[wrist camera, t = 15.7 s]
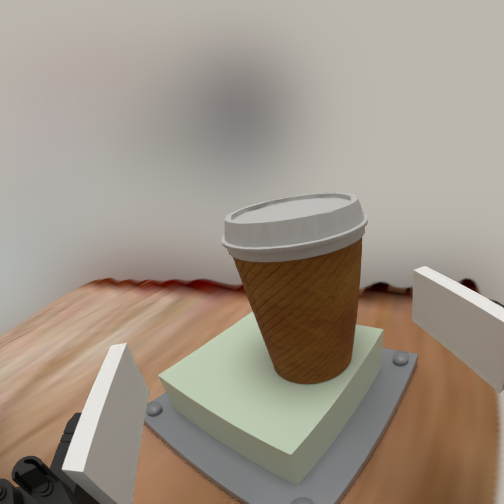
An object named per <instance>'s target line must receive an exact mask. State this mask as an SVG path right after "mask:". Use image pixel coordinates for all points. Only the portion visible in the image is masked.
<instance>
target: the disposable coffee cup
mask: <svg viewBox="0 0 504 504" xmlns="http://www.w3.org/2000/svg"><path fill="white" fill-rule="evenodd" d="M367 222H368V216H367V215H366V214H365V213H364V212H363V211H362V209H361V205H360V203H359V200H358V197H357V196H355V195H353V194H348V193H317V194H306V195H298V196H291V197H286V198H280V199H275V200H271V201H266V202H262V203H258V204H254V205H251V206H248V207H244V208H242V209H239V210H237V211H234V212H232V213H230V214H228V215H227V216H226V217H225V234H224V235H223V236H222V238H221V241H222V244H223V246H224V247H226V248H227V250H228V252H229V254H230V255H231V256H232V257H233V259H234V261H235V264H236V267H237V269H238V272H239V275H240V278H241V280H242V283H243V286H244V289H245V291H246V294H247V297H248V300H249V302H250V305H251V308H252V310H253V313H254V316H255V318H256V321H257V323H258V327H259V329H260V332H261V334H262V337H263V340H264V342H265V345H266V348H267V350H268V353H269V355H270V358H271V361H272V363H273V366H274V369H275V371H276V372H277V374H278V375H280V376H281V377H282V378H284V379H285V380H288V381H290V382H294V383H299V384H315V383H320V382H324V381H327V380H330V379H332V378H334V377H336V376H338V375H339V374H341V373H342V372H343V371H344V370H345V369H346V368H347V367H348V366H349V364H350V362H351V359H352V352H353V344H354V337H355V328H356V319H357V309H358V299H359V285H360V273H361V272H360V271H361V255H362V236H363V235H364V233H365V226H366V225H367Z"/></svg>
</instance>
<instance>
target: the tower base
mask: <svg viewBox="0 0 504 504" xmlns="http://www.w3.org/2000/svg"><path fill="white" fill-rule="evenodd" d="M417 361H418V354H414V353H408V352H404V351H397V350H392V349H386V348H383V329H378V328H373V327H367V326H361V325H356V328H355V337H354V344H353V352H352V359H351V362H350V364H349V366H348V367H347V368H346V369H345V370H344V371H343V372H342V373H341V374H339V375H338V376H336V377H334V378H332V379H330V380H327V381H324V382H320V383H315V384H299V383H294V382H290V381H288V380H285V379H284V378H282V377H281V376H280V375H278V374H277V372H276V371H275V369H274V366H273V363H272V361H271V358H270V355H269V353H268V350H267V348H266V345H265V342H264V340H263V337H262V334H261V332H260V329H259V327H258V323H257V321H256V318H255V316H254V313H253V311H252V312H251V313H250V314H248V315H247V316H245V317H244V318H242V319H241V320H240V321H238V322H237V323H235V324H234V325H232V326H231V327H230V328H228V329H227V330H225V331H224V332H222V333H221V334H219V335H218V336H217V337H215V338H214V339H212V340H211V341H209V342H208V343H206V344H205V345H203V346H202V347H200V348H199V349H197V350H196V351H194V352H193V353H191V354H190V355H188V356H187V357H185V358H184V359H182V360H181V361H179V362H178V363H176V364H175V365H173V366H172V367H170V368H168V369H167V370H165V371H164V372H162V373H161V374H159V375H158V376H159V379H160V381H161V383H162V385H163V387H164V389H165V391H166V392H165V393H164V394H162V395H161V396H159V397H158V398H156V399H155V400H153V401H152V402H150V403H148V404H147V409H146V414H145V420H144V424H145V425H146V426H147V427H148V428H149V429H150V430H151V431H152V432H153V433H155V434H156V435H157V436H158V437H159V438H160V439H161V440H162V441H163V442H164V443H165V444H166V445H167V446H169V447H170V448H171V449H172V450H173V451H174V452H175V453H177V454H178V455H179V456H180V457H181V458H182V459H184V460H185V461H186V462H187V463H188V464H190V465H191V466H192V467H193V468H195V469H196V470H197V471H198V472H200V473H201V474H202V475H203V476H205V477H206V478H207V479H209V480H210V481H211V482H213V483H214V484H215V485H217V486H218V487H220V488H221V489H222V490H224V491H225V492H227V493H228V494H229V495H231V496H232V497H234V498H235V499H237V500H238V501H240V502H241V503H243V504H339V503H340V501H341V500H342V499H343V497H344V496H345V495H346V493H347V492H348V490H349V489H350V488H351V486H352V485H353V483H354V482H355V480H356V479H357V477H358V476H359V474H360V473H361V471H362V470H363V468H364V467H365V465H366V464H367V462H368V460H369V459H370V457H371V456H372V454H373V452H374V451H375V449H376V447H377V445H378V444H379V442H380V440H381V438H382V437H383V435H384V433H385V431H386V429H387V428H388V426H389V424H390V422H391V420H392V418H393V416H394V414H395V412H396V410H397V408H398V406H399V404H400V402H401V400H402V398H403V396H404V394H405V391H406V389H407V387H408V385H409V383H410V380H411V378H412V376H413V373H414V371H415V368H416V366H417Z"/></svg>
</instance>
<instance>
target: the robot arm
mask: <svg viewBox="0 0 504 504" xmlns="http://www.w3.org/2000/svg"><path fill="white" fill-rule="evenodd" d="M413 272H414V273H413V304H412V321H413V322H415V323H416V324H417V325H418V326H420V327H421V328H422V329H423V330H425V331H426V332H427V333H428V334H430V335H431V336H432V337H433V338H435V339H436V340H437V341H438V342H440V343H441V344H442V345H443V346H444V347H446V348H447V349H448V350H449V351H451V352H452V353H453V354H454V355H455V356H457V357H458V358H459V359H460V360H461V361H463V362H464V363H465V364H466V365H467V366H468V367H470V368H471V369H472V370H473V371H474V372H476V373H477V374H478V375H479V376H480V377H481V378H483V379H484V380H485V381H486V382H487V383H488V384H489V385H491V386H492V387H493V388H494V389H495V390H496V391H497V392H499V393H500V392H501V391H503V390H504V305H502V304H500V303H499V302H497V301H494V300H490V299H487V298H485V297H483V296H481V295H480V294H478V293H476V292H474V291H472V290H470V289H469V288H467V287H465V286H463V285H461V284H459V283H457V282H455V281H453V280H451V279H450V278H448V277H446V276H444V275H442V274H440V273H438V272H436V271H434V270H432V269H430V268H428V267H426V266H424V267H421V268H418V269H416V270H414V271H413ZM149 393H150V391H149V389H148V387H147V385H146V383H145V381H144V379H143V377H142V375H141V373H140V371H139V369H138V367H137V365H136V362H135V360H134V358H133V356H132V354H131V352H130V349H129V347H128V345H127V343H124V344H118V345H112V346H111V347H110V349H109V352H108V354H107V356H106V358H105V360H104V362H103V365H102V367H101V369H100V371H99V374H98V376H97V378H96V380H95V383H94V385H93V387H92V390H91V392H90V395H89V397H88V399H87V402H86V404H85V407H84V409H83V412H82V413H75V414H74V415H73V417H72V418H71V419H70V420H69V421H68V423H67V425H66V427H65V430H64V432H63V433H64V435H62V437H61V440H60V441H61V443H59V445H58V448H57V450H56V453H55V456H54V458H53V461H52V464H51V466H50V469H49V468H48V467H47V466H46V465H45V464H44V463H43V462H42V461H41V459H39V458H37V457H35V456H27V457H24V458H22V459H21V460H19V461H18V462H17V463H16V465H15V466H14V468H13V471H12V480H13V481H14V482H15V483H17V484H18V485H19V486H20V487H17V488H16V487H15V486H13V485H12V484H11V483H10V482H9V481H8V480H6V479H0V504H133V497H134V488H135V480H136V472H137V465H138V458H139V451H140V444H141V438H142V432H143V426H144V420H145V414H146V409H147V403H148V398H149Z"/></svg>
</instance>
